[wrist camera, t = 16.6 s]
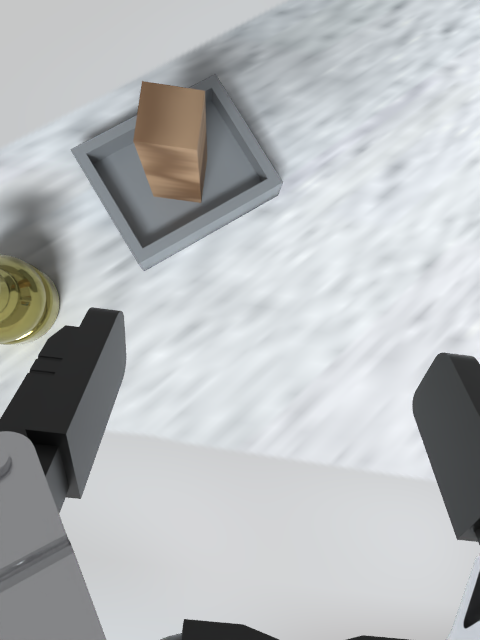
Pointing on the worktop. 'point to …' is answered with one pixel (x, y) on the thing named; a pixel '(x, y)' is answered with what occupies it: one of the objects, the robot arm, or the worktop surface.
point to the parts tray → (170, 214)
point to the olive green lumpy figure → (25, 301)
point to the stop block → (172, 140)
